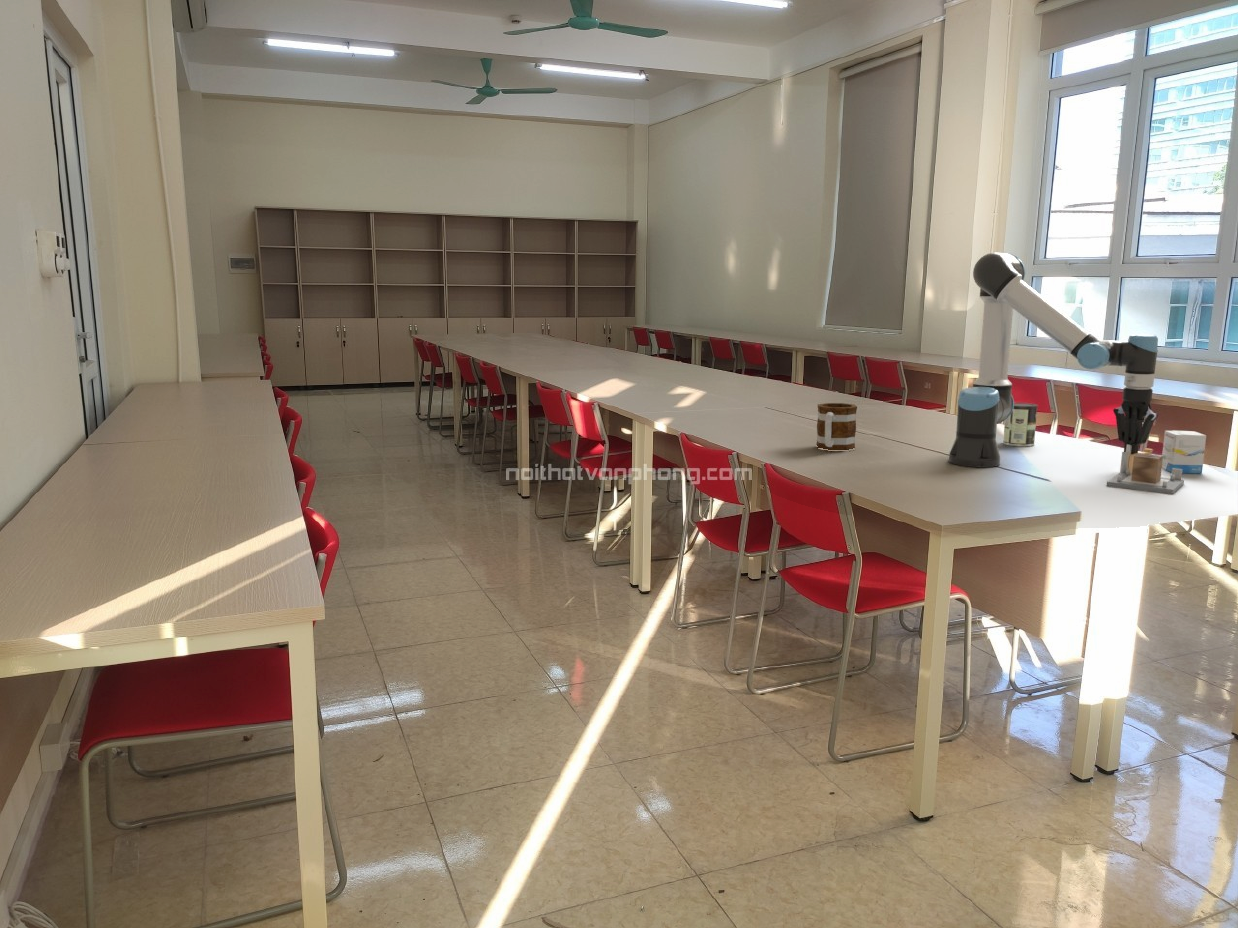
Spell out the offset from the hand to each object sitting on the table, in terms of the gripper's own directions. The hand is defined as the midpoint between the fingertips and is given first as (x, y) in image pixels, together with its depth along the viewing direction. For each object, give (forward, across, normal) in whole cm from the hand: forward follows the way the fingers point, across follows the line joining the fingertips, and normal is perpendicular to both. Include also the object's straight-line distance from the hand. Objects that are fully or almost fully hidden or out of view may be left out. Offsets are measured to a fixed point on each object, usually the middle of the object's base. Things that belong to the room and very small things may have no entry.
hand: (1129, 465), depth 268 cm
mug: (+2, -67, -57) cm, 88 cm away
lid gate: (+1, +3, 0) cm, 3 cm away
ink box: (+2, +6, +15) cm, 16 cm away
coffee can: (+3, -48, +8) cm, 49 cm away
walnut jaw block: (0, +15, -13) cm, 20 cm away
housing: (+1, +14, -12) cm, 19 cm away
